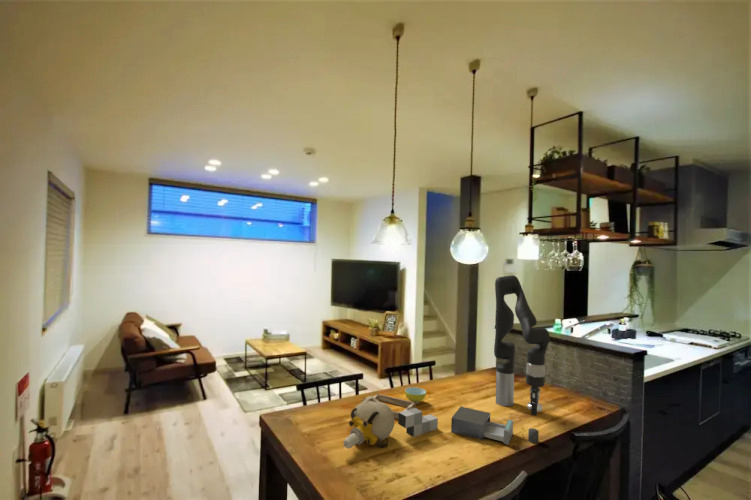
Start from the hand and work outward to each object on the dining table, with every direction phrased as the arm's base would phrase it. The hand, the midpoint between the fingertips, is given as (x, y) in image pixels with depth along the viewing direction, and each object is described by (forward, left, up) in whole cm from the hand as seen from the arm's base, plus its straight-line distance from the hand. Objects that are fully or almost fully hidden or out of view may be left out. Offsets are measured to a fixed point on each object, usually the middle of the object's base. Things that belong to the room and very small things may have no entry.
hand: (534, 412), depth 159 cm
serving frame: (+4, -68, -12) cm, 70 cm away
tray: (+4, -16, -12) cm, 21 cm away
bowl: (-12, -60, -13) cm, 63 cm away
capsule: (0, 0, -12) cm, 12 cm away
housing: (+4, -26, -12) cm, 29 cm away
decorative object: (+41, -63, -13) cm, 77 cm away
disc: (0, 0, +2) cm, 2 cm away
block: (+20, -46, -13) cm, 52 cm away
